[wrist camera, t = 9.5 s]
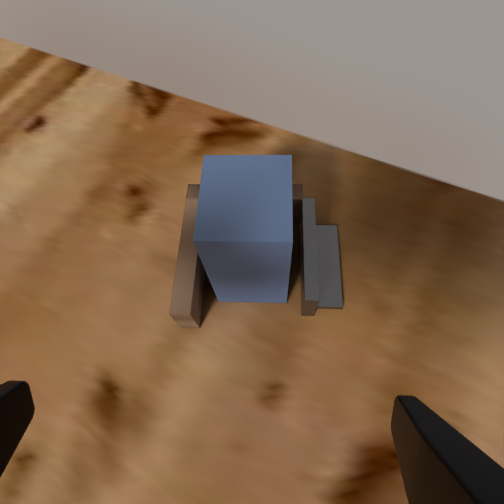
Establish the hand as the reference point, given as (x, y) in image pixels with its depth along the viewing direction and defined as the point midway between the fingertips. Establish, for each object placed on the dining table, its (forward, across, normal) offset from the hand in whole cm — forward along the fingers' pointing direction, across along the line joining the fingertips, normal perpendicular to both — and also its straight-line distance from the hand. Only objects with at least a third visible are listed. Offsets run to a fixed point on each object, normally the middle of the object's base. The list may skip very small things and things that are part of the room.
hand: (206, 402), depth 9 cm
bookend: (+16, -4, +3) cm, 17 cm away
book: (+16, 0, +3) cm, 16 cm away
